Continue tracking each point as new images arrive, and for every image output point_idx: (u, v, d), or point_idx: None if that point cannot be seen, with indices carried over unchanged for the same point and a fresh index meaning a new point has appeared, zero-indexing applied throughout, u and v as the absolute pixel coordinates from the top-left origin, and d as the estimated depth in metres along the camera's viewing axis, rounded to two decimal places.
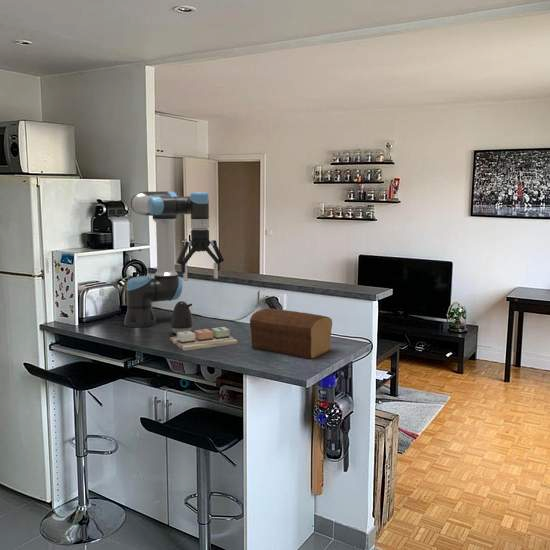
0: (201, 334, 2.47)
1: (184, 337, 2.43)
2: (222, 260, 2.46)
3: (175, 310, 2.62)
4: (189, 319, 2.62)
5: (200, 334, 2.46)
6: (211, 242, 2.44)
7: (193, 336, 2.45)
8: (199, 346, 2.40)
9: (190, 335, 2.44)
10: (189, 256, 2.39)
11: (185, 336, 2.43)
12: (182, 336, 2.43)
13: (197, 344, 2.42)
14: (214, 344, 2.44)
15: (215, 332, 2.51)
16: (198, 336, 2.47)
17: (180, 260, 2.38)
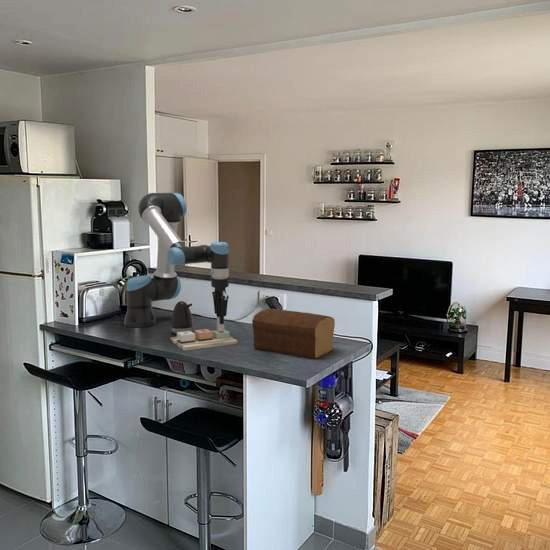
0: (201, 334, 2.47)
1: (184, 337, 2.43)
2: (220, 315, 2.50)
3: (175, 310, 2.62)
4: (189, 319, 2.62)
5: (200, 334, 2.46)
6: (223, 295, 2.48)
7: (193, 336, 2.45)
8: (199, 346, 2.40)
9: (190, 335, 2.44)
10: (216, 305, 2.53)
11: (185, 336, 2.43)
12: (182, 336, 2.43)
13: (197, 344, 2.42)
14: (214, 344, 2.44)
15: (215, 335, 2.52)
16: (198, 336, 2.47)
17: (214, 310, 2.55)
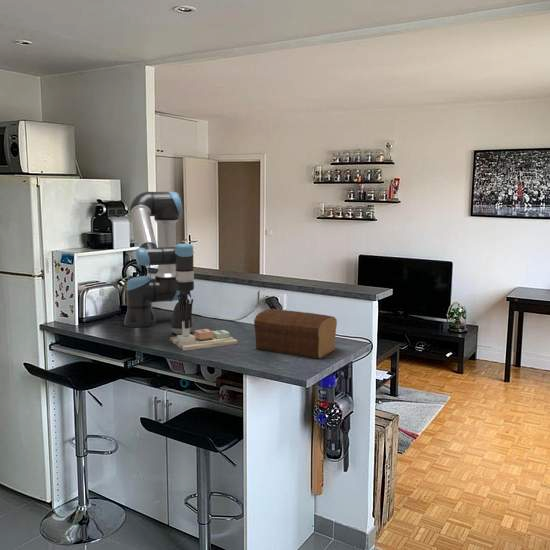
0: (201, 334, 2.47)
1: (184, 340, 2.43)
2: (185, 319, 2.42)
3: (175, 310, 2.62)
4: None
5: (200, 334, 2.46)
6: (187, 298, 2.40)
7: (193, 339, 2.45)
8: (199, 346, 2.40)
9: (190, 338, 2.45)
10: (181, 309, 2.46)
11: (185, 339, 2.43)
12: (182, 339, 2.43)
13: (197, 344, 2.42)
14: (214, 344, 2.44)
15: (215, 335, 2.52)
16: (198, 336, 2.47)
17: (180, 314, 2.48)
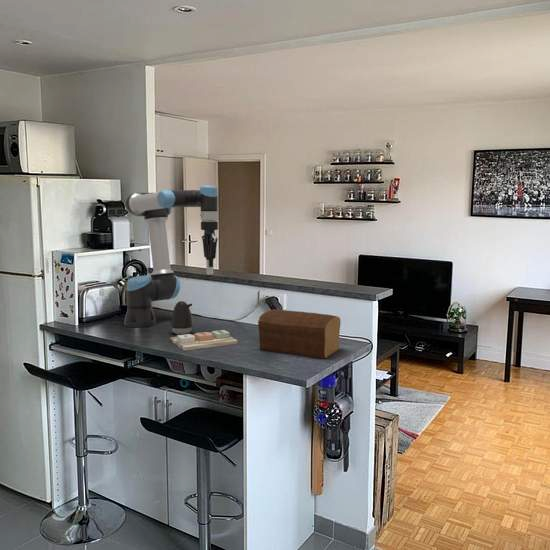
0: (201, 338, 2.47)
1: (184, 340, 2.43)
2: (209, 257, 2.54)
3: (175, 310, 2.62)
4: (189, 319, 2.62)
5: (200, 337, 2.47)
6: (212, 237, 2.51)
7: (193, 339, 2.45)
8: (199, 346, 2.40)
9: (190, 338, 2.45)
10: (206, 249, 2.57)
11: (185, 339, 2.43)
12: (182, 339, 2.43)
13: (197, 344, 2.42)
14: (214, 344, 2.44)
15: (215, 335, 2.52)
16: (198, 339, 2.48)
17: (204, 253, 2.59)
